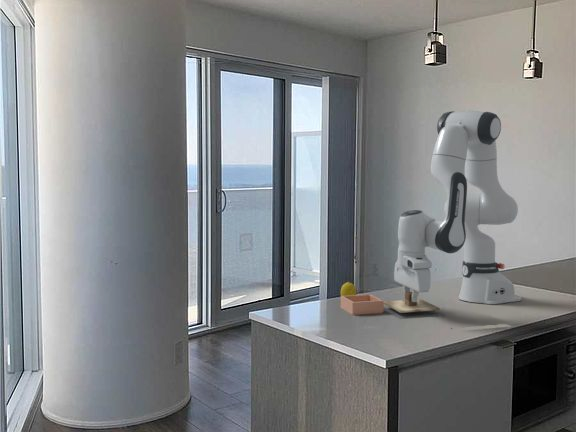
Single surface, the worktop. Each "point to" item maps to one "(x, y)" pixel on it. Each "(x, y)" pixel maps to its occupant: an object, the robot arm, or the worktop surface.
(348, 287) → the lemon
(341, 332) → the worktop surface
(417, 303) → the lid
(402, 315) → the mat
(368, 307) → the salmon open box
